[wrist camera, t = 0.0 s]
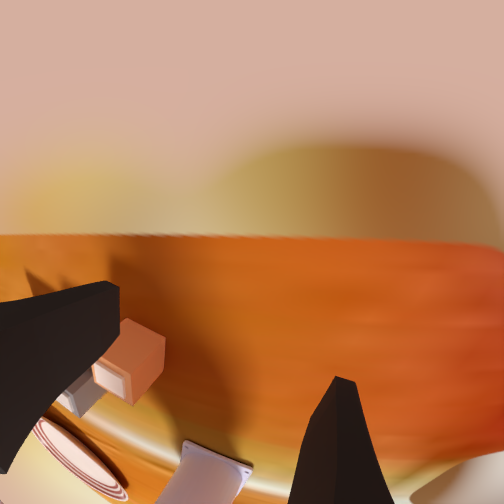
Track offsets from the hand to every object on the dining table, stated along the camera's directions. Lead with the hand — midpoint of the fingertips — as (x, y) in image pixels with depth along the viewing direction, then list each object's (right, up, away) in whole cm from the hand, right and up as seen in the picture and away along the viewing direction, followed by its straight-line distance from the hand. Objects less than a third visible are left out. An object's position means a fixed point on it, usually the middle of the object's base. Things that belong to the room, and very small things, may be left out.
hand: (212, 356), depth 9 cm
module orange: (-8, -5, +16) cm, 18 cm away
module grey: (-15, -9, +19) cm, 26 cm away
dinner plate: (-34, -38, +38) cm, 64 cm away
